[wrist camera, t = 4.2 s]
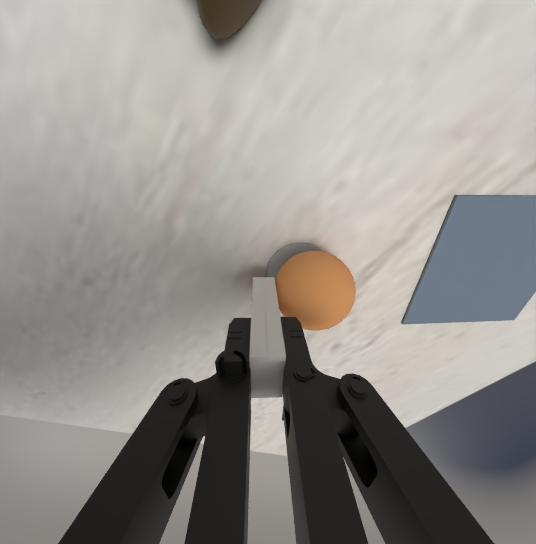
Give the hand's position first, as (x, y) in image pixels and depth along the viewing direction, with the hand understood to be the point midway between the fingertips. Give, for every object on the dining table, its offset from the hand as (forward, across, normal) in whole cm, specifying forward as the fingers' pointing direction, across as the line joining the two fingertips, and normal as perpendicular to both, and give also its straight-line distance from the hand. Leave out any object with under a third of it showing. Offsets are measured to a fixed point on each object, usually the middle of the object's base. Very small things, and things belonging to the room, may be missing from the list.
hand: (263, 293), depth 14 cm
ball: (0, +4, 0) cm, 4 cm away
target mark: (+3, +20, +1) cm, 20 cm away
